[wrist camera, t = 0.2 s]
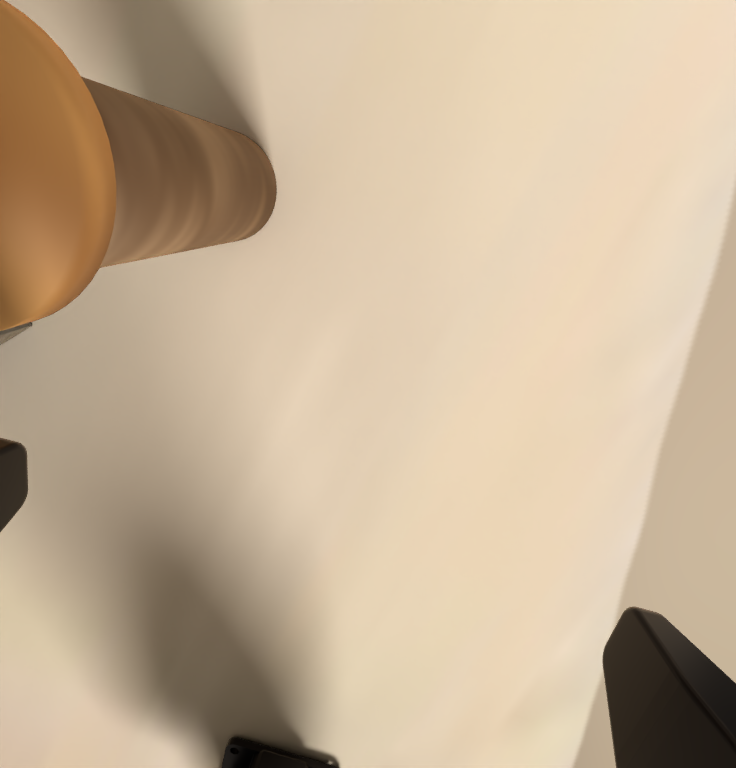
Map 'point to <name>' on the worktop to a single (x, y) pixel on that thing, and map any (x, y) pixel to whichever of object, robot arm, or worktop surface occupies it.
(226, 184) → the pin
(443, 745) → the worktop surface
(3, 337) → the block
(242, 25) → the worktop surface
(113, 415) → the worktop surface
